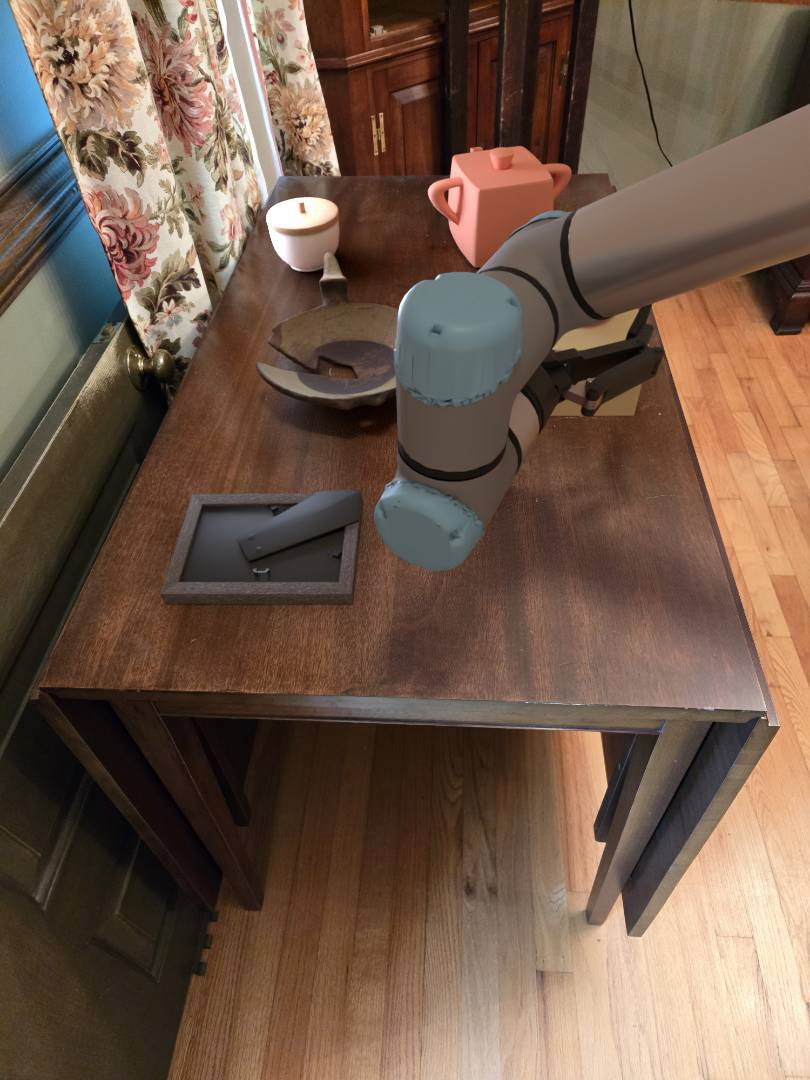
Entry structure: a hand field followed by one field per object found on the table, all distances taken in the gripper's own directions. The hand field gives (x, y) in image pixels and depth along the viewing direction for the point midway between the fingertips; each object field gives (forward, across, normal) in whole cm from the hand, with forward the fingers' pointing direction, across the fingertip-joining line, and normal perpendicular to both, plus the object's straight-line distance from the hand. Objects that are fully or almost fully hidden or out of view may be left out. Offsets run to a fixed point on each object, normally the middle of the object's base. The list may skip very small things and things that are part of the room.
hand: (579, 290), depth 72 cm
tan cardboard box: (+9, 0, -17) cm, 19 cm away
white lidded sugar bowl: (+22, -46, -21) cm, 55 cm away
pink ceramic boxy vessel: (+40, -23, -19) cm, 50 cm away
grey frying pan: (+1, -26, -20) cm, 32 cm away
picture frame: (-31, -18, -19) cm, 40 cm away
